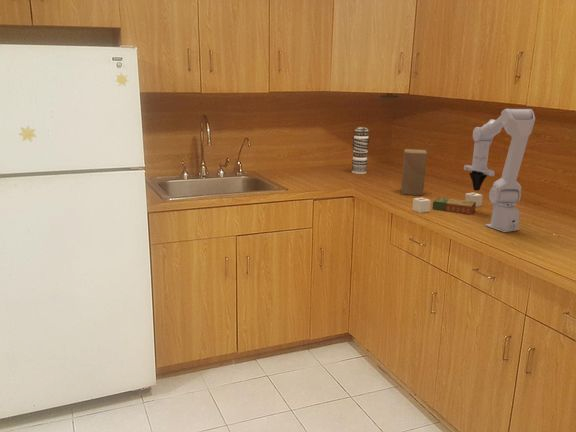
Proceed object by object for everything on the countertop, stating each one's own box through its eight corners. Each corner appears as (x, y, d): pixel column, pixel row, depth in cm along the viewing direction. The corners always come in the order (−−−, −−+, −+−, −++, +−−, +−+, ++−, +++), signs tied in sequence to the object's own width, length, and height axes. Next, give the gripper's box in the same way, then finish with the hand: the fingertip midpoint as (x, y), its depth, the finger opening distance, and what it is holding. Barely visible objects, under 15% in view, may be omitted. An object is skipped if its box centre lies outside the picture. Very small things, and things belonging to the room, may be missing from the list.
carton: (470, 215, 220) (472, 205, 218) (431, 210, 227) (432, 200, 226) (475, 211, 227) (476, 201, 225) (436, 205, 234) (437, 196, 233)
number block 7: (481, 206, 235) (482, 194, 233) (472, 207, 232) (474, 195, 231) (472, 203, 239) (474, 192, 237) (464, 204, 237) (465, 193, 235)
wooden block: (423, 195, 250) (427, 153, 245) (401, 194, 252) (404, 151, 247) (422, 191, 260) (426, 150, 254) (401, 189, 262) (404, 148, 256)
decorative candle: (360, 174, 297) (363, 128, 290) (347, 172, 303) (349, 127, 296) (370, 172, 303) (373, 127, 296) (357, 170, 309) (359, 126, 302)
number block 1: (429, 211, 223) (430, 199, 222) (420, 213, 221) (421, 200, 219) (421, 208, 227) (422, 197, 226) (412, 210, 225) (413, 198, 224)
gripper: (501, 159, 213) (497, 193, 217) (474, 154, 226) (470, 185, 229) (489, 160, 210) (484, 194, 214) (461, 154, 223) (458, 187, 226)
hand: (476, 190), depth 221 cm, fingers closed
